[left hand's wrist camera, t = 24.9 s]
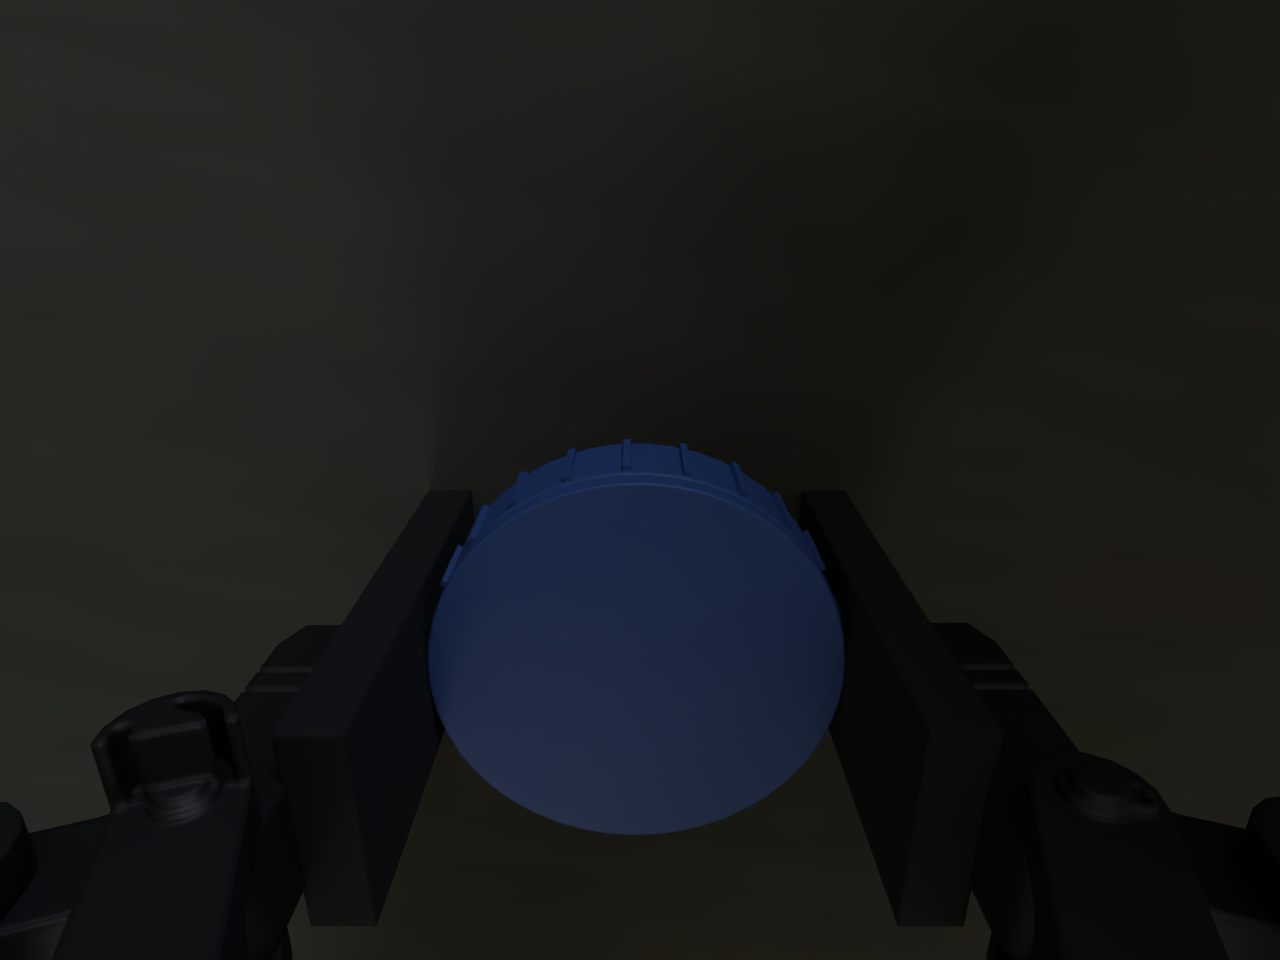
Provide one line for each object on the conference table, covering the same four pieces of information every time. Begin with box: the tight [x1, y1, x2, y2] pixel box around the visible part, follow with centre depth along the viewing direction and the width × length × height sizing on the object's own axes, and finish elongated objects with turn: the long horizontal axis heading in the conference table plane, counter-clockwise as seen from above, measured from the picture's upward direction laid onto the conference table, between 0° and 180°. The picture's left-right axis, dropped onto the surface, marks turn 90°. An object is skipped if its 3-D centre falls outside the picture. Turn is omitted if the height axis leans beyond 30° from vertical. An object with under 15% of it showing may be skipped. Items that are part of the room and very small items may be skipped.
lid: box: [428, 439, 846, 835], centre depth 12 cm, size 6×6×2 cm
